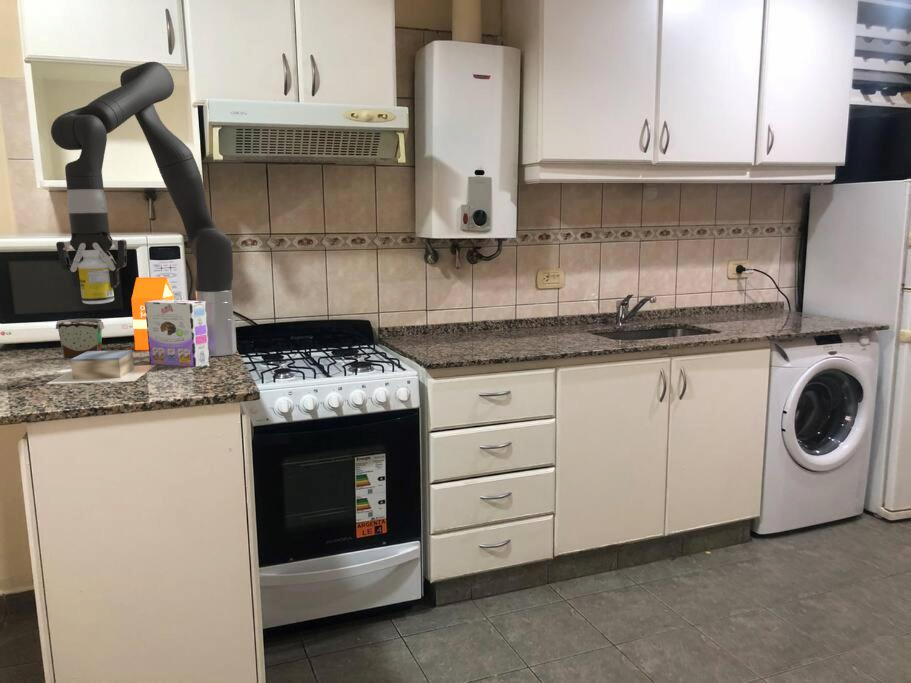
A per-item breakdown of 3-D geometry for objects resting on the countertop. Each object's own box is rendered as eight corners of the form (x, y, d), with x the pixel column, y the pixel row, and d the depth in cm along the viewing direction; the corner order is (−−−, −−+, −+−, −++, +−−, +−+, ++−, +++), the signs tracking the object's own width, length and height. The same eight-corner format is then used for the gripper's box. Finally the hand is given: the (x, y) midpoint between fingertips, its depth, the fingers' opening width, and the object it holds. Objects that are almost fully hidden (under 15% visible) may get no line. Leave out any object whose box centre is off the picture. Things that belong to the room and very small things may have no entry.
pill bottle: (88, 301, 161) (83, 249, 158) (119, 300, 161) (113, 248, 159) (77, 304, 154) (70, 250, 152) (108, 303, 155) (102, 250, 153)
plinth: (133, 368, 168) (132, 350, 168) (120, 377, 159) (119, 357, 158) (88, 370, 167) (87, 351, 166) (72, 379, 157) (70, 359, 156)
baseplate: (156, 369, 173) (156, 365, 173) (134, 385, 155) (134, 381, 155) (77, 371, 170) (77, 367, 170) (46, 388, 153) (45, 383, 153)
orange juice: (166, 350, 199) (161, 278, 196) (134, 350, 199) (129, 278, 196) (177, 345, 207) (172, 276, 204) (147, 345, 207) (142, 276, 204)
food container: (116, 355, 191) (113, 318, 189) (103, 360, 185) (100, 321, 183) (73, 354, 192) (69, 318, 190) (58, 359, 186) (54, 321, 184)
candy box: (210, 366, 176) (207, 300, 174) (195, 371, 171) (190, 302, 168) (165, 363, 181) (161, 298, 178) (148, 367, 175) (143, 300, 172)
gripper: (128, 210, 159) (135, 285, 162) (58, 212, 157) (67, 287, 160) (118, 210, 152) (127, 288, 155) (45, 212, 149) (55, 291, 152)
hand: (96, 288), depth 157 cm, fingers closed on pill bottle, 6 cm apart
